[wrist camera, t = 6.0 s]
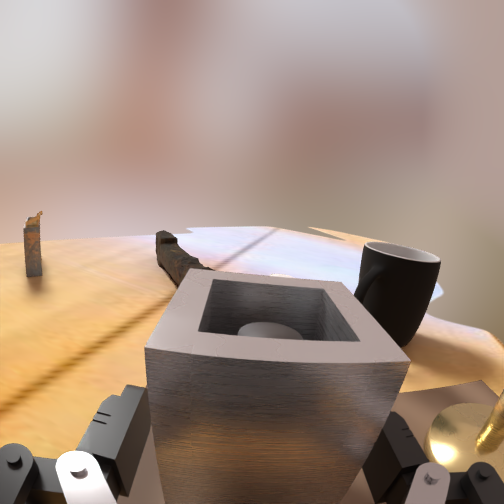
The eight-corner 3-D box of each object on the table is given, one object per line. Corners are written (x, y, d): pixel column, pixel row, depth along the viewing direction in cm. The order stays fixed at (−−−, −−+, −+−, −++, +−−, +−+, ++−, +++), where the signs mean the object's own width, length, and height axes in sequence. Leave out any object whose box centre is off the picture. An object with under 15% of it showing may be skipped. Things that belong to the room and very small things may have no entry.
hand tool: (219, 304, 38) (223, 261, 37) (182, 307, 36) (184, 262, 35) (175, 257, 58) (177, 228, 56) (151, 258, 55) (152, 228, 54)
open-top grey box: (314, 538, 8) (411, 360, 6) (172, 534, 8) (144, 347, 6) (297, 450, 14) (341, 281, 12) (187, 443, 14) (189, 268, 12)
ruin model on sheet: (45, 278, 38) (42, 212, 36) (27, 279, 36) (23, 213, 34) (43, 258, 46) (42, 204, 44) (28, 259, 45) (26, 205, 42)
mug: (374, 315, 39) (389, 241, 36) (429, 340, 32) (451, 259, 29) (312, 335, 32) (329, 242, 30) (377, 373, 25) (407, 267, 23)
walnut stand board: (80, 602, 3) (-87, 473, 1) (149, 399, 19) (143, 254, 17) (565, 500, 5) (651, 368, 2) (475, 393, 20) (515, 286, 18)
